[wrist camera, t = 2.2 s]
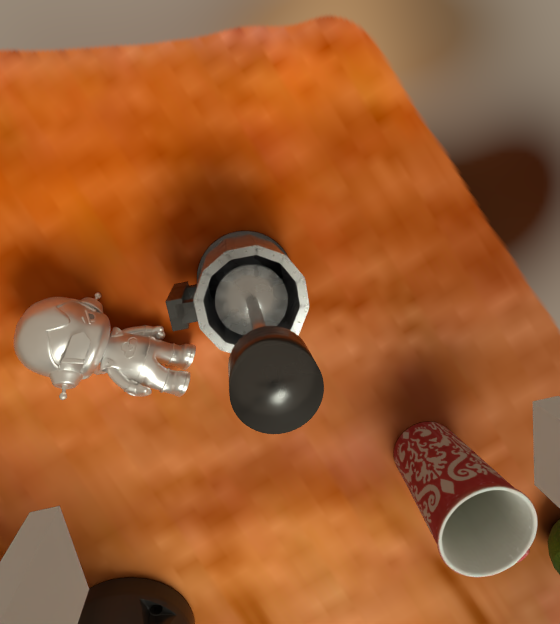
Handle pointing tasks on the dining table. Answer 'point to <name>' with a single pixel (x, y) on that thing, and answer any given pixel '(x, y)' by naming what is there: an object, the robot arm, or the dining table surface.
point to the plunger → (266, 353)
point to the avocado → (555, 545)
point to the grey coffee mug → (215, 265)
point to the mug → (464, 502)
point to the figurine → (98, 348)
